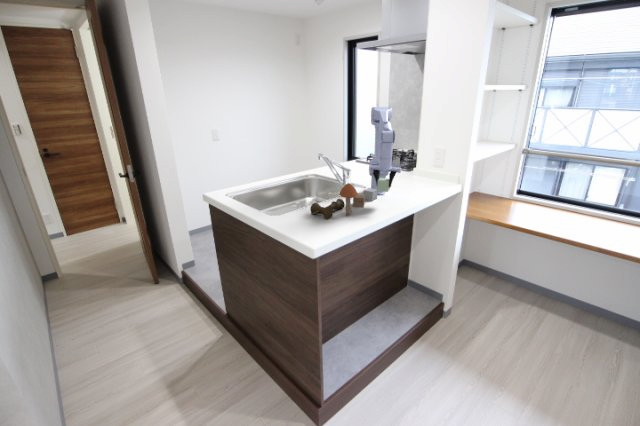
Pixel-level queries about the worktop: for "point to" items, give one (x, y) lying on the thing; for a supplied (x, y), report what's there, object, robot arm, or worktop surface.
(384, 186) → the sage cube
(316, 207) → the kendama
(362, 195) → the walnut cube
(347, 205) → the mushroom
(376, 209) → the worktop surface
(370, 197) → the grey cube
